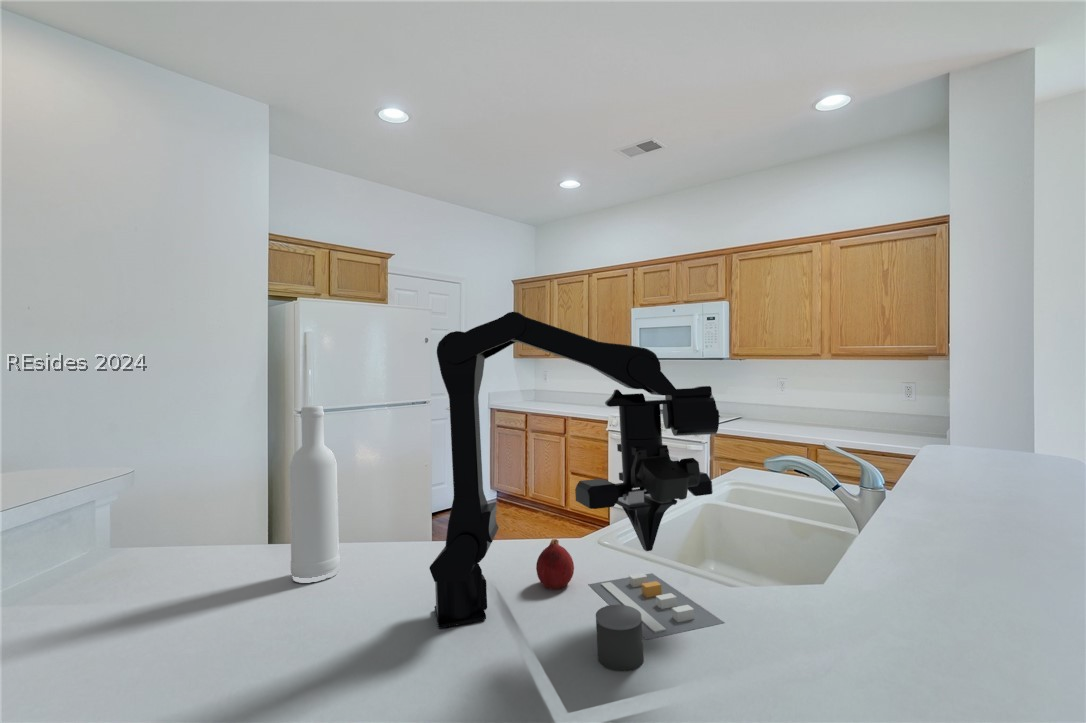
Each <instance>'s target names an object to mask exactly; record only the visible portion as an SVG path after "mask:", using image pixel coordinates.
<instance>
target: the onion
mask: <svg viewBox="0 0 1086 723" xmlns="http://www.w3.org/2000/svg"><path fill="white" fill-rule="evenodd" d="M535 565H536V567H535V569H536V576H537V578H538V580H539V582H540V583H541V584H542V585H543V586H544V587H545V588H547V589H550V590H559V589H563V588H565V587H566V586H567V585H568V584H569V583H570V582H571V580H572V578H573V576H574V572H575V566H574V565H575V564H574V560H573V558H572V556H571V554H570V552H568V550H567V549H566V548H565V547H564V546H562V545H560V544H559V539H557V538H556V537H555V538H552V539H551V540H550V543H549V545H548V546H547V547H545V548H544V549H543V550H542V551H541V552H540V554H539V555H538V558H537V561H536V564H535Z"/></svg>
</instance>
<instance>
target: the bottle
mask: <svg viewBox="0 0 1086 723" xmlns="http://www.w3.org/2000/svg"><path fill="white" fill-rule="evenodd" d="M300 412H301V413H300V418H301V446H300V448H298V449H297V451H296V452H295V453H294V454H293V456H292V458H291V461H290V464H289V506H290V507H289V511H290V514H289V515H290V516H289V517H290V518H289V519H290V574H292V576H294V577H299V578H312V577H318V576H322V575H326V574H328V573H331V572H333V571H335V570H336V569H338V567H339V568H340V564H341V561H340V559H341V558H340V556H341V555H340V547H339V545H340V543H339V542H340V539H339V537H340V535H339V498H338V497H339V496H338V493H339V492H338V462H337V460H336V456H335V454H334V452H333V451H332V449H330V448H329V447H328V446H327V445H325V429H324V428H325V427H324V426H325V425H324V423H325V422H324V417H325V412H324V406H322V405H313V406H312V405H311V406H302V407H301V410H300Z"/></svg>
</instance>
